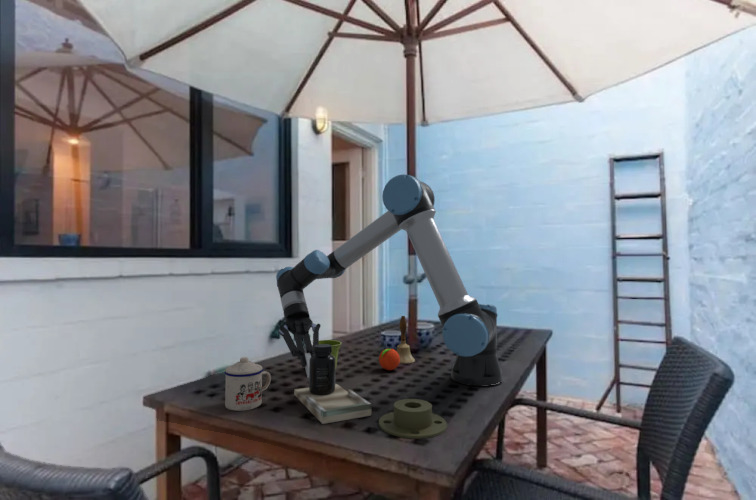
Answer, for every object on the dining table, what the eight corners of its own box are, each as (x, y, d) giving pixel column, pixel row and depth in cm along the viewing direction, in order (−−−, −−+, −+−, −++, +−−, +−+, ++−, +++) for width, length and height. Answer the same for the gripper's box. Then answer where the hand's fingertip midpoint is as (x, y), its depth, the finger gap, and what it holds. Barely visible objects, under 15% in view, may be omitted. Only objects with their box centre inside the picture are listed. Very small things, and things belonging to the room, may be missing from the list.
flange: (379, 417, 88) (452, 417, 89) (378, 394, 103) (441, 394, 104) (379, 440, 88) (452, 440, 89) (378, 413, 103) (441, 414, 104)
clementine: (389, 374, 136) (390, 352, 136) (372, 370, 140) (372, 348, 140) (404, 369, 142) (404, 347, 142) (386, 366, 146) (387, 345, 147)
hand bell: (388, 362, 152) (388, 316, 152) (396, 357, 159) (396, 314, 160) (410, 364, 149) (411, 318, 149) (418, 359, 156) (418, 315, 156)
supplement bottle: (339, 389, 115) (340, 344, 115) (326, 397, 109) (327, 349, 109) (317, 386, 118) (318, 342, 118) (303, 393, 112) (304, 346, 112)
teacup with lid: (235, 414, 101) (236, 364, 101) (217, 404, 107) (218, 357, 107) (279, 402, 109) (280, 356, 109) (260, 394, 115) (261, 350, 116)
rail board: (294, 394, 115) (294, 384, 115) (336, 389, 121) (336, 379, 121) (322, 423, 95) (322, 411, 96) (371, 415, 101) (371, 403, 101)
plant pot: (343, 366, 146) (343, 340, 146) (338, 373, 136) (338, 346, 137) (316, 365, 147) (316, 339, 147) (309, 372, 137) (309, 345, 138)
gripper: (312, 315, 142) (329, 379, 126) (272, 317, 136) (285, 385, 121) (317, 300, 137) (336, 365, 122) (276, 302, 131) (291, 371, 116)
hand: (311, 375), depth 121 cm, fingers closed
